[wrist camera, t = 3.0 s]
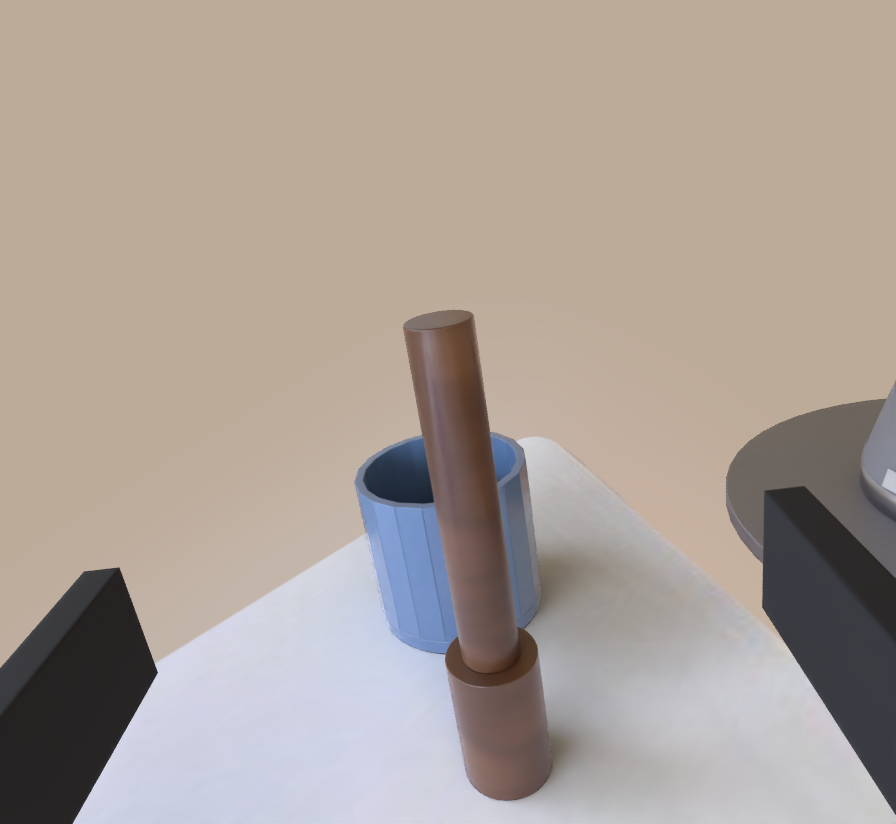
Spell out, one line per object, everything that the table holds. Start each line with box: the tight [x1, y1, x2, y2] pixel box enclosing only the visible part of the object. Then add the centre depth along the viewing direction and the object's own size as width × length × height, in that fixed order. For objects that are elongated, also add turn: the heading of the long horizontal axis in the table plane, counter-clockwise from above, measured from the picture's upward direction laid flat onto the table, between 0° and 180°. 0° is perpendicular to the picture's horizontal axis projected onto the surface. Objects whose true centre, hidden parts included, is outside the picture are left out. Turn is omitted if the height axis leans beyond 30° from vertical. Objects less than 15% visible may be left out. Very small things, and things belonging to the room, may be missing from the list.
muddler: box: [403, 310, 552, 800], centre depth 27 cm, size 4×4×20 cm
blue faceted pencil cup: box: [355, 432, 542, 653], centre depth 41 cm, size 9×9×9 cm
